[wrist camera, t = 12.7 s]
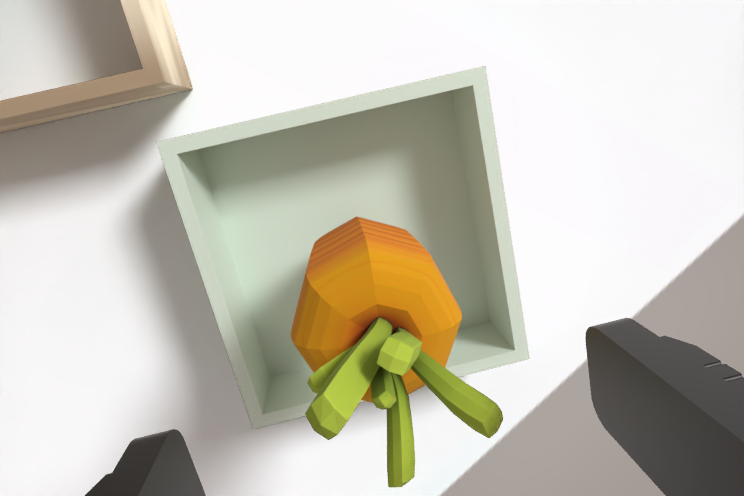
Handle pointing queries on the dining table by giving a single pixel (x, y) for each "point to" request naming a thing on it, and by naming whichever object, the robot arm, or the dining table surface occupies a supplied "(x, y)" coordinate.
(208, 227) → the green tray
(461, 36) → the dining table surface
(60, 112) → the birch frame
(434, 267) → the carrot
